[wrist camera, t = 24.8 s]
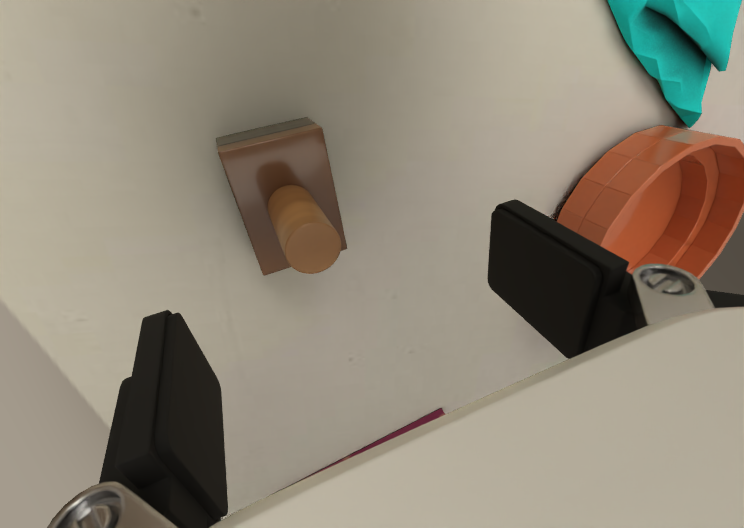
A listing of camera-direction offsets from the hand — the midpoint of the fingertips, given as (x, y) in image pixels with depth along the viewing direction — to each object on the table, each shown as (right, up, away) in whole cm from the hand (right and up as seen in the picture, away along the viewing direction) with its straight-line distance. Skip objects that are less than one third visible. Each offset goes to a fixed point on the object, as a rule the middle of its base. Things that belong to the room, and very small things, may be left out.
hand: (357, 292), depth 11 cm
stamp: (-5, +5, +11) cm, 13 cm away
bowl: (+23, +5, +24) cm, 34 cm away
